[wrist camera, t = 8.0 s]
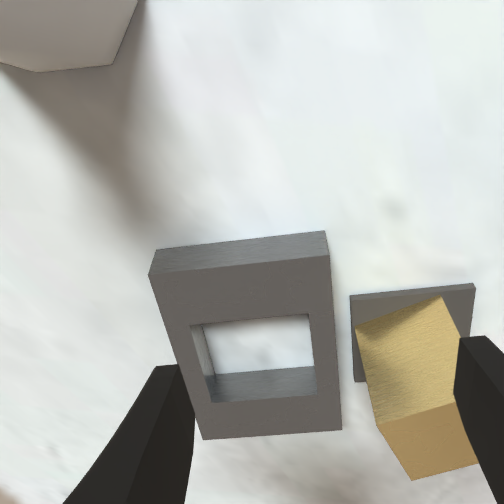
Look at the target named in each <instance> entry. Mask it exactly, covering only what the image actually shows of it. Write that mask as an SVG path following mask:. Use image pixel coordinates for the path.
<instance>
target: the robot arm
mask: <svg viewBox="0 0 504 504" xmlns="http://www.w3.org/2000/svg"><path fill="white" fill-rule="evenodd" d="M453 395H454V398H455V401H456V404H457V408H458V411H459V414H460V417H461V420H462V423H463V427H464V430H465V432H466V435H467V437H468V439H469V442H470V444H471V446H472V448H473V451H474V453H475V455H476V457H477V460H478V462H479V464H480V466H481V469H482V471H483V473H484V475H485V477H486V480H487V482H488V484H489V486H490V488H491V491H492V493H493V495H494V497H495V500H496V502H497V504H504V353H503V352H502V351H501V350H500V349H499V348H498V347H497V346H496V345H495V344H494V343H493V342H492V341H491V340H490V339H489V338H487V337H486V336H474V337H463V338H459V346H458V354H457V362H456V371H455V379H454V388H453ZM194 430H195V412H194V409H193V406H192V403H191V400H190V397H189V394H188V390H187V387H186V384H185V381H184V378H183V375H182V372H181V369H180V366H179V364H174V365H164V366H156V367H155V368H154V370H153V371H152V373H151V375H150V377H149V378H148V380H147V382H146V383H145V385H144V387H143V389H142V390H141V392H140V394H139V395H138V397H137V399H136V400H135V402H134V404H133V405H132V407H131V409H130V410H129V412H128V413H127V415H126V417H125V418H124V420H123V421H122V423H121V424H120V426H119V427H118V429H117V431H116V432H115V434H114V435H113V437H112V438H111V440H110V441H109V443H108V444H107V446H106V447H105V448H104V450H103V451H102V453H101V454H100V455H99V457H98V458H97V460H96V461H95V462H94V464H93V465H92V467H91V468H90V469H89V471H88V472H87V473H86V475H85V476H84V477H83V479H82V480H81V481H80V483H79V484H78V485H77V486H76V488H75V489H74V490H73V492H72V493H71V494H70V495H69V496H68V498H67V499H66V500H65V501H64V502H63V504H184V502H185V496H186V491H187V485H188V479H189V474H190V468H191V462H192V456H193V446H194Z"/></svg>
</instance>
